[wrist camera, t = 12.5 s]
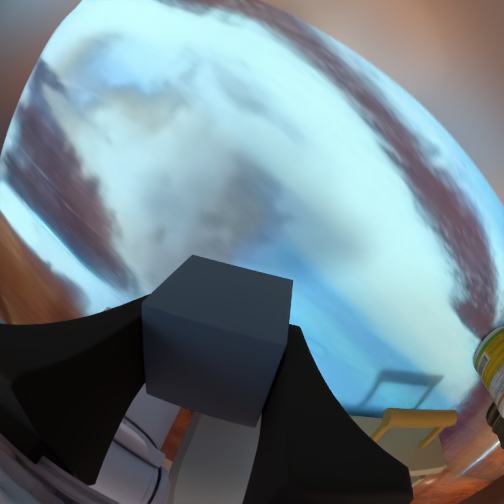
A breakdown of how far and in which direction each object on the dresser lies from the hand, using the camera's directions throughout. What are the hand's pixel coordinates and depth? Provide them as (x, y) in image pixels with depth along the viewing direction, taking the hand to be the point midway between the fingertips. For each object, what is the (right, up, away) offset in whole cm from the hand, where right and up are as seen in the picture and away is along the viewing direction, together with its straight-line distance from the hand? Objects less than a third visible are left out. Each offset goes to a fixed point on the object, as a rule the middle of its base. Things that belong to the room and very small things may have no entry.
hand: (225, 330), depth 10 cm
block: (0, 0, +1) cm, 1 cm away
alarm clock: (0, -19, +16) cm, 25 cm away
